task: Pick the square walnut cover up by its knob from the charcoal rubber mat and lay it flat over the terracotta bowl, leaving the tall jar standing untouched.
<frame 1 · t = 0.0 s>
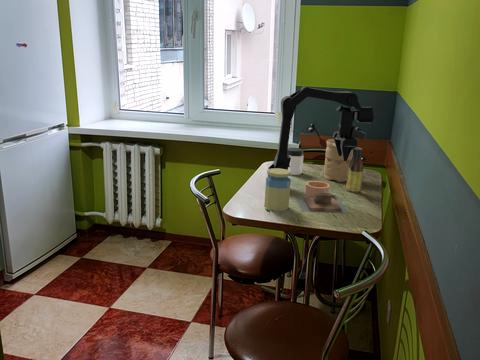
hand: (342, 158, 190), 15 cm above the table, tool pointing down, fingers open, 9 cm apart
charcoal mat: (321, 208, 172), on the table
jar 2: (276, 209, 168), on the table
container: (336, 178, 214), on the table
sauce bottle: (352, 193, 193), on the table
terracotta bowl: (316, 195, 186), on the table
jar: (292, 173, 220), on the table
walnut cover: (321, 205, 172), point 1 cm above the table, touching charcoal mat
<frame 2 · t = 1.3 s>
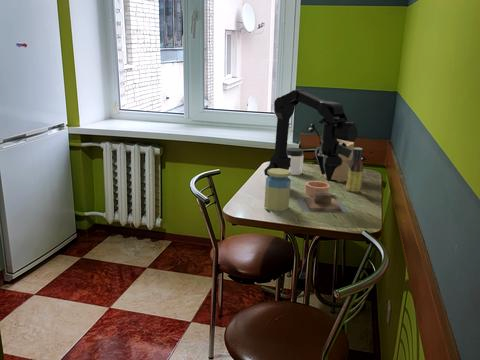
hand: (325, 177, 169), 12 cm above the table, tool pointing down, fingers open, 9 cm apart
nothing on the table moved.
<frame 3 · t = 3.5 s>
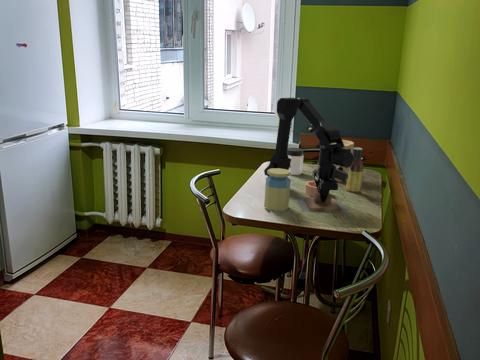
hand: (322, 200, 171), 3 cm above the table, tool pointing down, fingers closed on walnut cover, 3 cm apart
walnut cover: (321, 205, 172), point 1 cm above the table, touching charcoal mat, gripper
everything else where it was.
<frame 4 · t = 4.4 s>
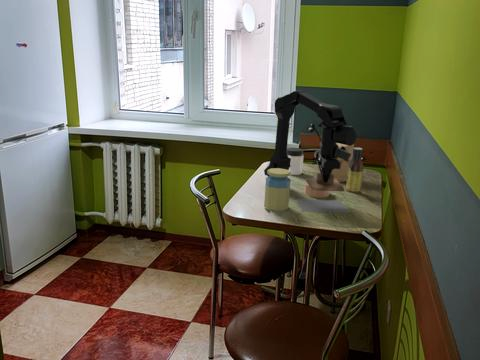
hand: (324, 180, 169), 11 cm above the table, tool pointing down, fingers closed on walnut cover, 3 cm apart
walnut cover: (324, 186, 169), point 9 cm above the table, touching gripper
everything else where it was.
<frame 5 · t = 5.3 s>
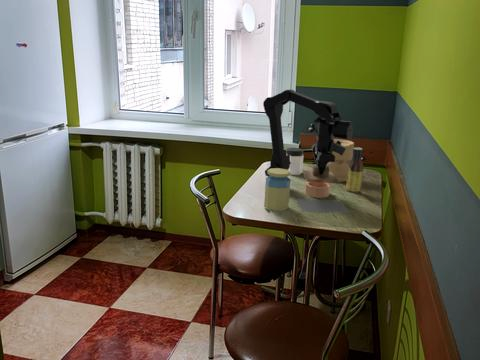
hand: (320, 173, 178), 11 cm above the table, tool pointing down, fingers closed on walnut cover, 3 cm apart
walnut cover: (319, 178, 178), point 9 cm above the table, touching gripper
everything else where it was.
when the fingers open (8 cm above the table, at t = 6.7 s): walnut cover drops 1 cm, resting on terracotta bowl.
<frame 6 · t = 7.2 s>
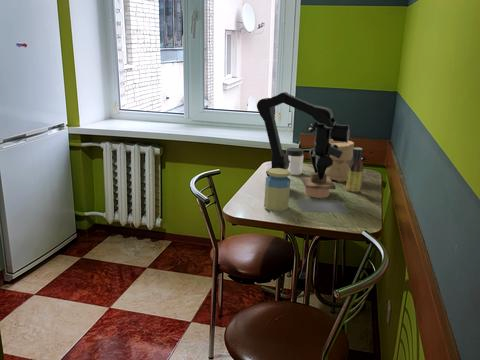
hand: (318, 176, 184), 8 cm above the table, tool pointing down, fingers open, 8 cm apart
walnut cover: (317, 184, 185), point 5 cm above the table, touching terracotta bowl
everything else where it was.
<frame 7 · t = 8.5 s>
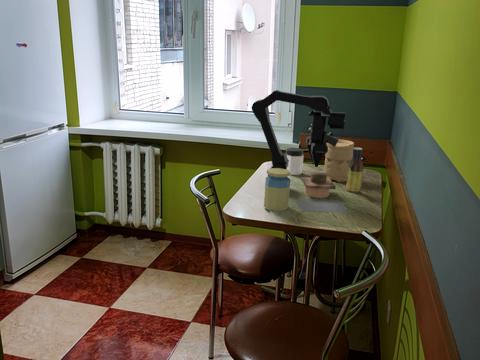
hand: (314, 164, 186), 13 cm above the table, tool pointing down, fingers open, 9 cm apart
nothing on the table moved.
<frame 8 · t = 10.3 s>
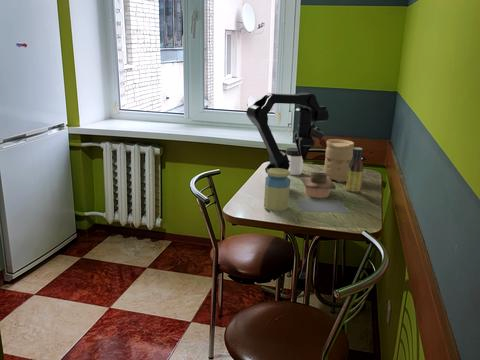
hand: (302, 157, 196), 13 cm above the table, tool pointing down, fingers open, 9 cm apart
nothing on the table moved.
at the end: walnut cover 0.0 cm from the terracotta bowl (horizontally); walnut cover point 5.0 cm above the table; jar 2 tilted 0° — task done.
